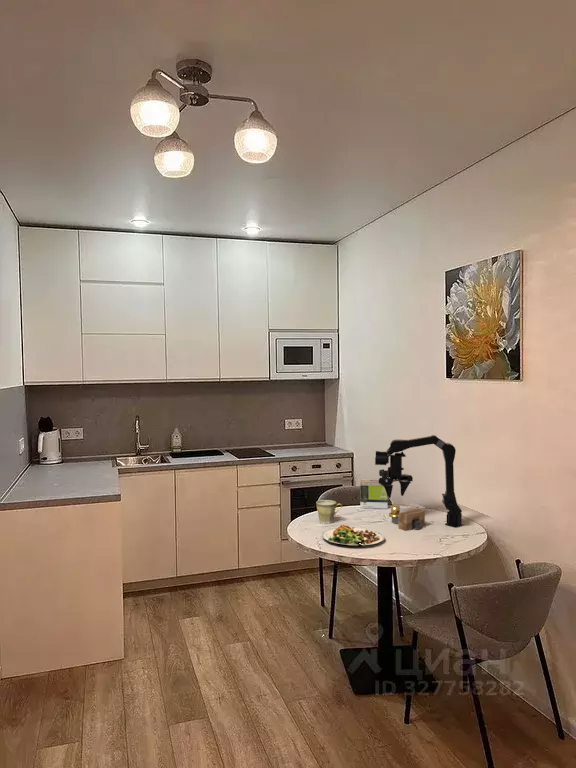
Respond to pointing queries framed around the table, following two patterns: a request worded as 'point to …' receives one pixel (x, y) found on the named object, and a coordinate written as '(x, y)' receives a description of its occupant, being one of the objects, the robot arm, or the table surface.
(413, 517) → the block
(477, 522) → the table surface
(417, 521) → the grey sliding bolt
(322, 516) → the ceramic cup
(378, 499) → the tea box
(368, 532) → the plate of food
